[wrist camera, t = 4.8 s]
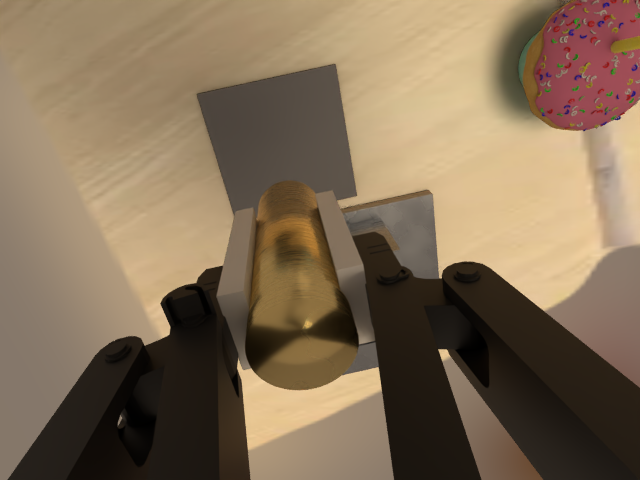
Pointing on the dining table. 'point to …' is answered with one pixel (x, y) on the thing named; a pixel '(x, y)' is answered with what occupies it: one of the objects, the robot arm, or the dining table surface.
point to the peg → (296, 296)
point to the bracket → (397, 244)
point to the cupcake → (584, 64)
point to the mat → (280, 135)
